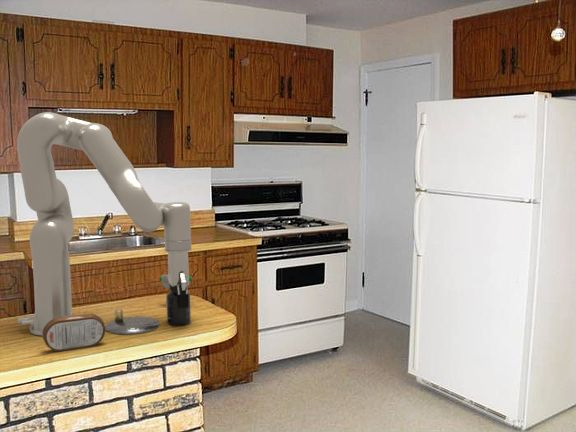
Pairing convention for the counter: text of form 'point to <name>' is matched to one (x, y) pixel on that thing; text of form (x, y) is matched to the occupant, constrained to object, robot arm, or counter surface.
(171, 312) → the supplement bottle
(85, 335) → the tin
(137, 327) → the plate
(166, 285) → the mechanical component
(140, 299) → the counter surface
